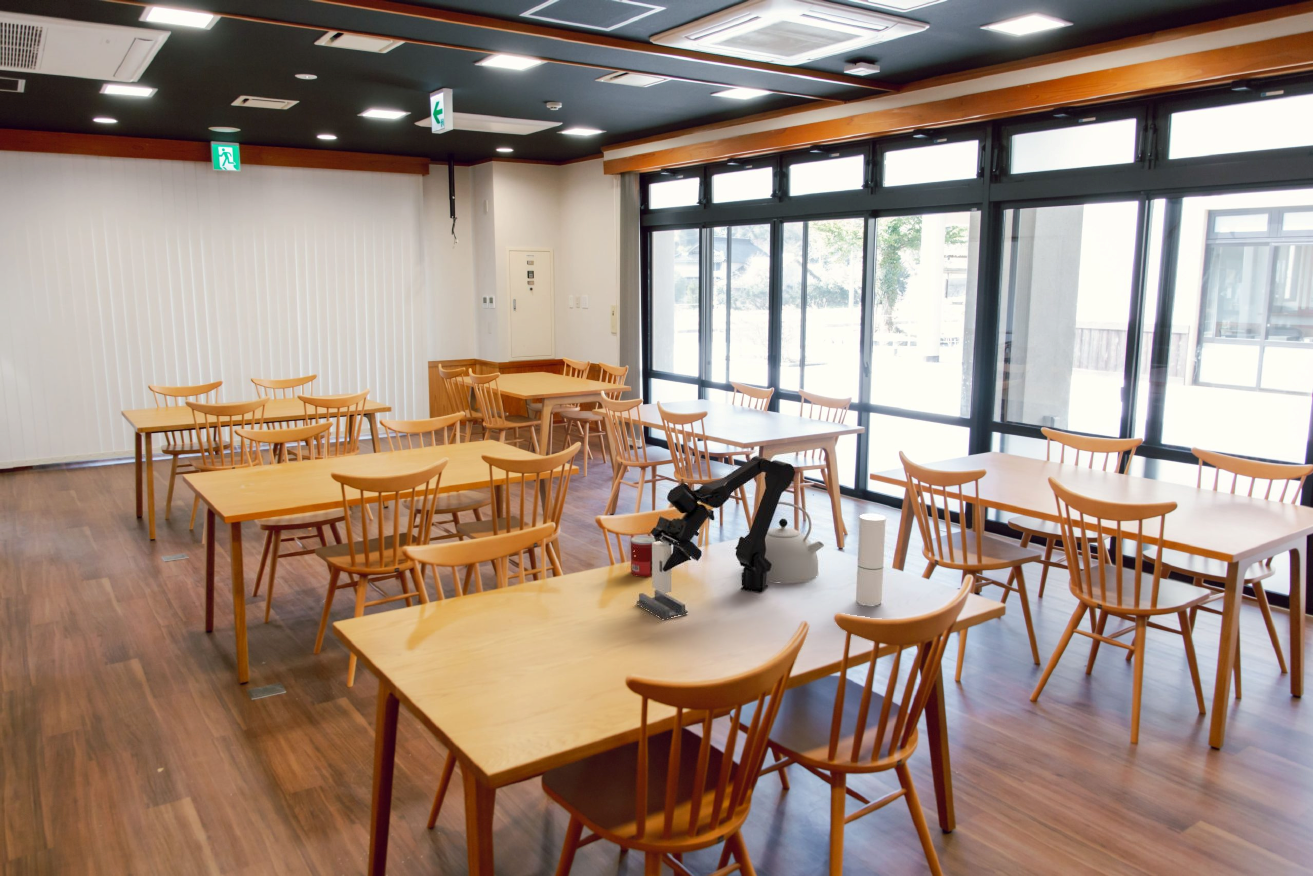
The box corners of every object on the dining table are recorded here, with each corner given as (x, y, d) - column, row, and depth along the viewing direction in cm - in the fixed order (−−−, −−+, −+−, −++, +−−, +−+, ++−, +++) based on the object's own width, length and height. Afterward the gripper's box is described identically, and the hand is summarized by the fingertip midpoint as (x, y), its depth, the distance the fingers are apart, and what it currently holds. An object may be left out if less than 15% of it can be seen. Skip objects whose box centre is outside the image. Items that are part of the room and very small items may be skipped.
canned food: (656, 577, 277) (656, 542, 275) (630, 577, 277) (630, 542, 275) (656, 569, 284) (656, 535, 282) (631, 569, 284) (631, 535, 282)
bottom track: (660, 599, 258) (660, 589, 257) (687, 614, 246) (687, 604, 246) (636, 604, 254) (636, 594, 253) (663, 620, 242) (663, 609, 242)
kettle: (836, 569, 285) (838, 500, 281) (808, 590, 266) (811, 516, 262) (764, 556, 298) (765, 490, 294) (733, 575, 279) (734, 504, 275)
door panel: (659, 585, 252) (659, 541, 250) (671, 591, 247) (671, 546, 245) (651, 587, 251) (650, 542, 248) (662, 593, 246) (662, 548, 243)
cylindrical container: (879, 597, 259) (883, 514, 255) (883, 606, 252) (887, 520, 248) (854, 596, 260) (858, 513, 256) (857, 605, 253) (861, 520, 249)
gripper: (655, 498, 255) (622, 542, 251) (692, 513, 239) (657, 560, 235) (679, 521, 260) (646, 564, 257) (716, 537, 245) (682, 583, 241)
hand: (657, 567), depth 247 cm, fingers closed on door panel, 6 cm apart
